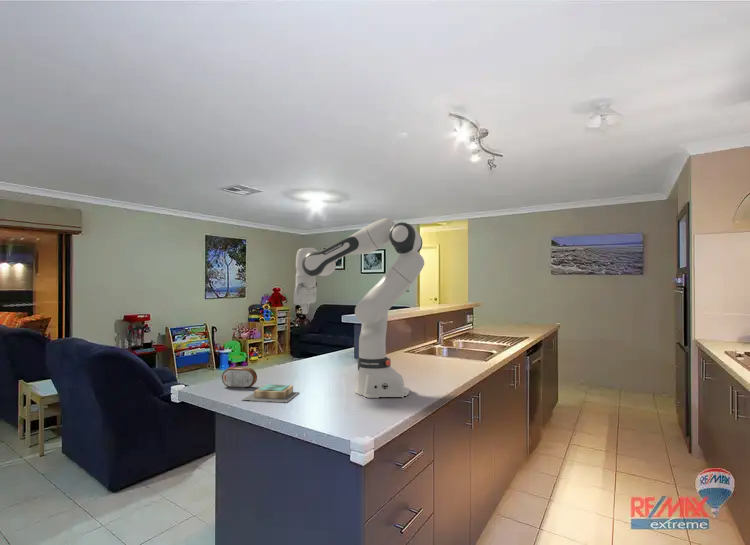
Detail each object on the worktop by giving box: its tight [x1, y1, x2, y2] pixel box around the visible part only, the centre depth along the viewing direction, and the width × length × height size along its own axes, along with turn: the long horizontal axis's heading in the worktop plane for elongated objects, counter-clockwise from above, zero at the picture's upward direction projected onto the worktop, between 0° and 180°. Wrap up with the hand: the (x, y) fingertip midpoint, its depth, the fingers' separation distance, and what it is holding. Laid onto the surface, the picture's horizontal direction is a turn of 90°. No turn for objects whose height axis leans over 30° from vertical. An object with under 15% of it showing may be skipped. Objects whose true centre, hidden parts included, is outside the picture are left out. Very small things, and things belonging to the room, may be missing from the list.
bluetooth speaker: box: [221, 366, 258, 388], centre depth 160 cm, size 15×3×8 cm, turn 84°
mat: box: [242, 391, 300, 404], centre depth 146 cm, size 18×13×1 cm
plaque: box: [253, 383, 294, 399], centre depth 148 cm, size 12×3×10 cm
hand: (305, 313), depth 168 cm, fingers closed
